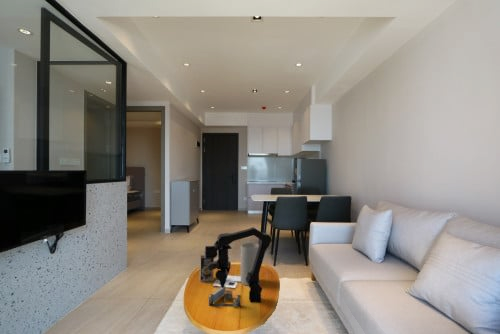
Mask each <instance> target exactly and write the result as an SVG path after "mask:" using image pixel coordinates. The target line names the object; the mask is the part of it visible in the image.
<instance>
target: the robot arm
mask: <svg viewBox="0 0 500 334" xmlns="http://www.w3.org/2000/svg"><path fill="white" fill-rule="evenodd" d="M248 237H256V238H257V239H258V240H257V241H258V243H257V244H259V248H258V251H257V254H256V258H255V261H254V265H253V268H252V271H251V272H250V273H249V272H248V273H247V277H246V282H247V284H248V287H249V288H250V289H249V292H248V298H249V299H248V300H249V303H262V292H263V287H262V286H261V284H260V270H261V268H262V265H263V261H264V257H265V254H266V251H267V250H268V248H269V247H270V245H271V243H272V237H271V235H269V234H268V233H267V232H262V231H260V230H259V229H257V228H256V227H254V226H253V227H249V228H247V229H242V230H240V231H235V232H232V233H231V232H230V233H229V232H228V233H227V232H226V233H219V234H218V236H217V239H216V241H215V243H214V244H213V245H205V248H204V255H205V259H209V258H214V259H215V258H217V260H214V262H211V263H209V265H208V269H210V271H212V270H213V269H214V270H217V271H216V272H215V275H214V276H215V277H214V278H215V279H217V280H219V283H220V286H221V287H222V288H224V286H226V285H225V284H226V282H227V278H228V276H229V274H230V271H231V270H230V269H231V268H232V267H231V266H232V263H231V261H230V257H229V250H231V249H233V247H232V246H231V245H230V244H232V243H233V242H236V241H238V240H239V241H240V240H241V239H246V238H248ZM221 287H220V288H221Z"/></svg>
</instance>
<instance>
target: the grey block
mask: <svg viewBox="0 0 500 334" xmlns="http://www.w3.org/2000/svg"><path fill="white" fill-rule="evenodd" d="M225 290H226V285H224V288H222V287H220V288H219V289H217V290H216V291H214V292H213V293H212V294H213V303H216V302H217V301H218V300H219V299H221V298H222V297H224V292H225Z"/></svg>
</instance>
